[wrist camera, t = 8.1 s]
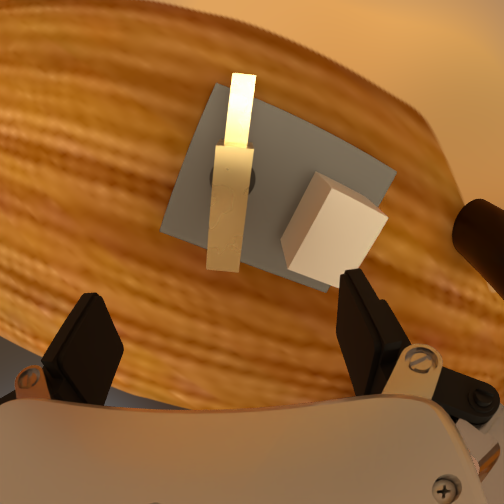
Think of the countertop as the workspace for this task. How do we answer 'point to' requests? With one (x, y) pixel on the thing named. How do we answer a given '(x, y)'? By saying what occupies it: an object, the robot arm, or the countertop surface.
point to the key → (231, 180)
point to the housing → (267, 179)
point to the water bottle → (482, 240)
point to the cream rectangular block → (330, 231)
